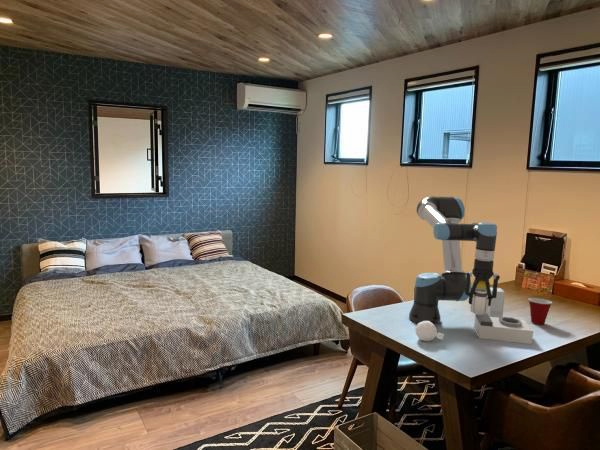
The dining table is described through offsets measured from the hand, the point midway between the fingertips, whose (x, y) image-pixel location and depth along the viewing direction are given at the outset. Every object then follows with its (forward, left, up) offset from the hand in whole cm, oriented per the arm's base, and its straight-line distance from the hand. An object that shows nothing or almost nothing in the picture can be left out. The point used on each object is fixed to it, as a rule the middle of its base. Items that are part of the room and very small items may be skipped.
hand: (478, 311), depth 193 cm
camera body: (+14, +16, -15) cm, 26 cm away
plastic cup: (+36, +40, -15) cm, 56 cm away
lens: (0, 0, 0) cm, 0 cm away
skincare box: (+15, +39, -15) cm, 44 cm away
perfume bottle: (-20, -2, -15) cm, 25 cm away
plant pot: (+15, +77, -15) cm, 80 cm away
